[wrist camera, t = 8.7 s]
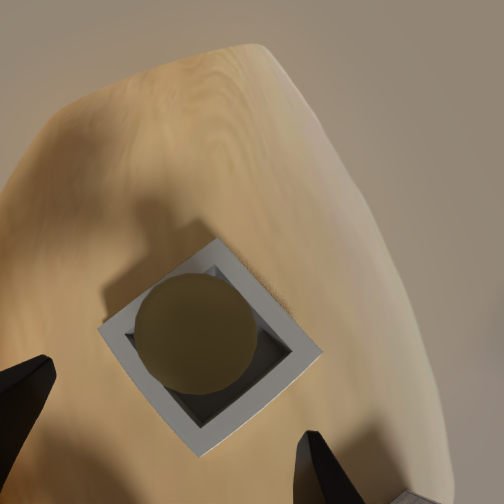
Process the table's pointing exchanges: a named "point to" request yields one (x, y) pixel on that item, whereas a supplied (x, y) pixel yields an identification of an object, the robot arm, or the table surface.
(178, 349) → the cork
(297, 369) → the socket plate
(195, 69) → the table surface
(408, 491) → the medicine box
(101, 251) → the table surface
